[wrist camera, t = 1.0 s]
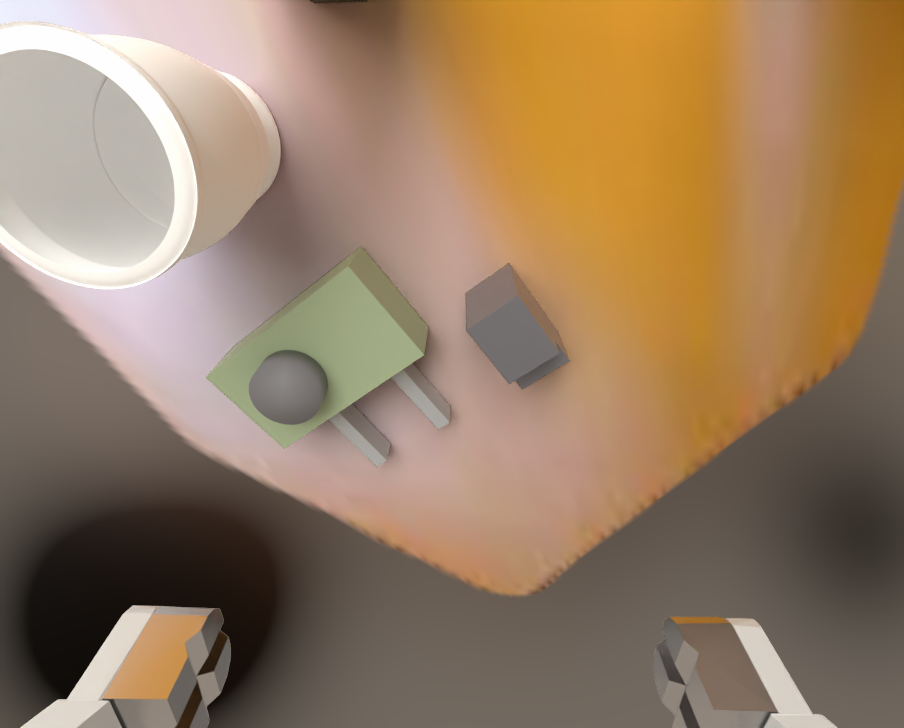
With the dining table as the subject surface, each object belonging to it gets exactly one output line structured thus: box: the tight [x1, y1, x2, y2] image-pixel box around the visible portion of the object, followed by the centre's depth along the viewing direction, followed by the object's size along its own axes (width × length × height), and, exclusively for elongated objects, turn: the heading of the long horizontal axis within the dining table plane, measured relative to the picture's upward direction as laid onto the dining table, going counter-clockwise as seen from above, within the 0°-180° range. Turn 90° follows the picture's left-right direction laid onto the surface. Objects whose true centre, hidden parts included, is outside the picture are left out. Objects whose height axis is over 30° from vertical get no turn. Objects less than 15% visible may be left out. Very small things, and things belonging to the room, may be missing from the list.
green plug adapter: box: [206, 246, 451, 467], centre depth 39 cm, size 14×15×7 cm
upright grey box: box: [466, 263, 570, 389], centre depth 37 cm, size 4×7×7 cm, turn 37°
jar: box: [0, 21, 281, 289], centre depth 28 cm, size 11×10×15 cm
